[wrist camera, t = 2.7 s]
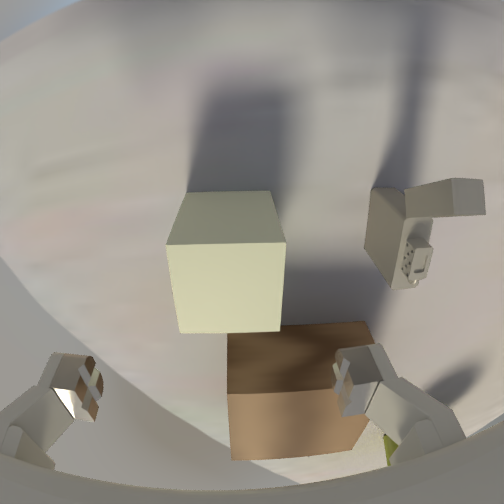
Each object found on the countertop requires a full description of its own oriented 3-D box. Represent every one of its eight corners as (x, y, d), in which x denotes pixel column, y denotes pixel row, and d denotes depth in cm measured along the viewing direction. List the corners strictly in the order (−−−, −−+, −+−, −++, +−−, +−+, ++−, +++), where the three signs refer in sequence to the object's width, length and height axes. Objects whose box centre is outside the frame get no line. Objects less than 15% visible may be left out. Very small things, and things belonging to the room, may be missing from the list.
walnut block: (363, 319, 23) (391, 380, 17) (337, 396, 27) (351, 449, 22) (227, 324, 22) (227, 394, 17) (230, 403, 27) (231, 460, 22)
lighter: (387, 249, 19) (449, 332, 12) (363, 250, 19) (419, 339, 12) (401, 138, 16) (494, 185, 9) (374, 137, 16) (462, 182, 9)
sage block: (269, 190, 17) (286, 242, 12) (267, 262, 19) (279, 331, 14) (186, 192, 17) (165, 245, 12) (192, 263, 19) (179, 333, 14)
